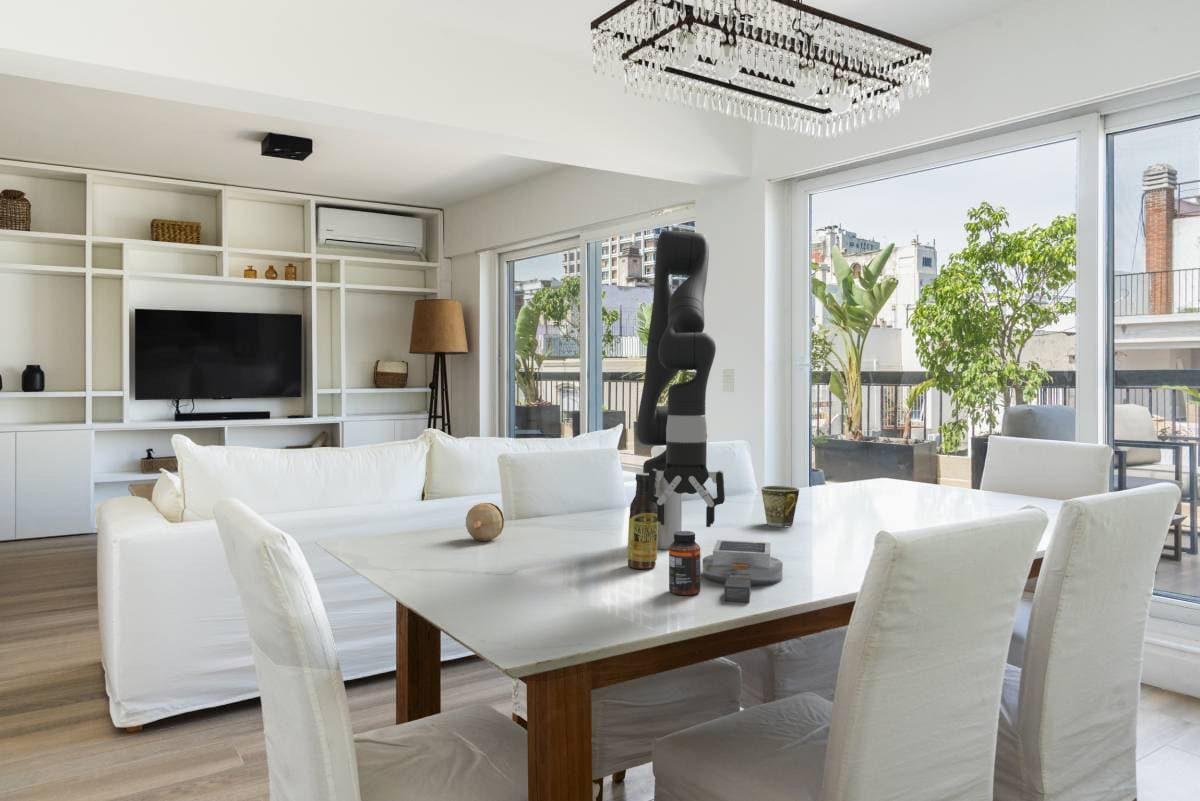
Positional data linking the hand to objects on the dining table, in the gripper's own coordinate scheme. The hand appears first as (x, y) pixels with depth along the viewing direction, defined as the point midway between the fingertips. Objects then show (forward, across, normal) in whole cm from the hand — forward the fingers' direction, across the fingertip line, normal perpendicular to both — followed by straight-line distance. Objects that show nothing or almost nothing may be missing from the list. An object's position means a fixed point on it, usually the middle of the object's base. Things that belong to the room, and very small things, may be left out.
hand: (685, 525), depth 156 cm
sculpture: (+12, -53, +35) cm, 65 cm away
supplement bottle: (+13, 0, 0) cm, 13 cm away
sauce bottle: (+13, -11, +18) cm, 25 cm away
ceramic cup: (+12, +18, +73) cm, 76 cm away
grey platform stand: (+13, +10, +9) cm, 19 cm away
